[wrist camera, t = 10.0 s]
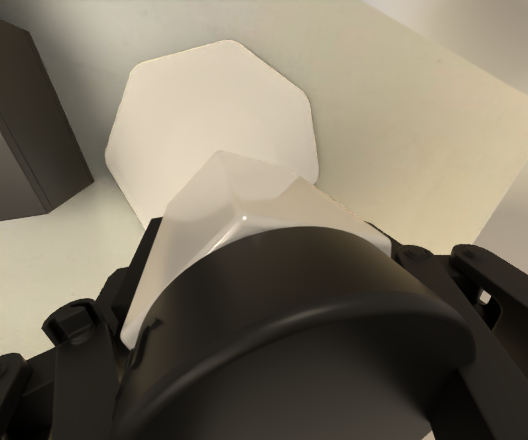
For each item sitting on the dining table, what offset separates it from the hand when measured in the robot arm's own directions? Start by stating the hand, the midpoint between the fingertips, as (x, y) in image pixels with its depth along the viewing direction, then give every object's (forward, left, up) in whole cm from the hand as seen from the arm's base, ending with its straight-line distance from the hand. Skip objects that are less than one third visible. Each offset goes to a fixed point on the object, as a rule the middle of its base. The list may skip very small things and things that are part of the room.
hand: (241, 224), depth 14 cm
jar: (0, 0, -2) cm, 2 cm away
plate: (0, 0, -17) cm, 17 cm away
